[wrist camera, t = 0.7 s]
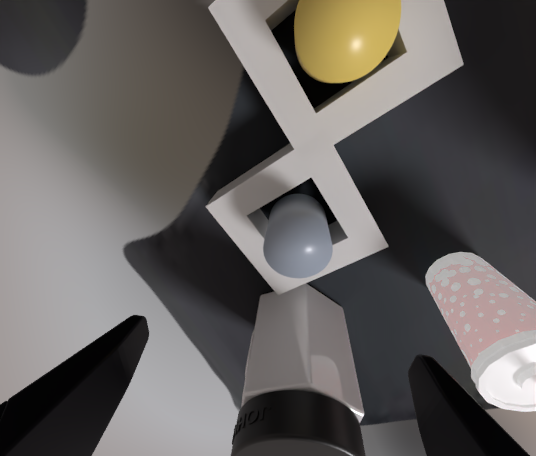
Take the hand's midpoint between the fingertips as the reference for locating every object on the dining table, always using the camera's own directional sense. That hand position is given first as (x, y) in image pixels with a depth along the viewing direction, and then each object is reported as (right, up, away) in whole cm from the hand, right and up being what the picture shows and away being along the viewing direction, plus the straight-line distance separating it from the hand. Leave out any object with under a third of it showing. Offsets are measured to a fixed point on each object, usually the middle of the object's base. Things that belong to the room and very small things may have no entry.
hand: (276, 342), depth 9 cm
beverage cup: (+15, 0, +13) cm, 20 cm away
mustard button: (+3, +14, +5) cm, 15 cm away
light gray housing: (+2, +5, +12) cm, 13 cm away
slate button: (+2, +4, +10) cm, 11 cm away
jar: (+3, -5, +17) cm, 18 cm away
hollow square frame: (+3, +15, +7) cm, 16 cm away
